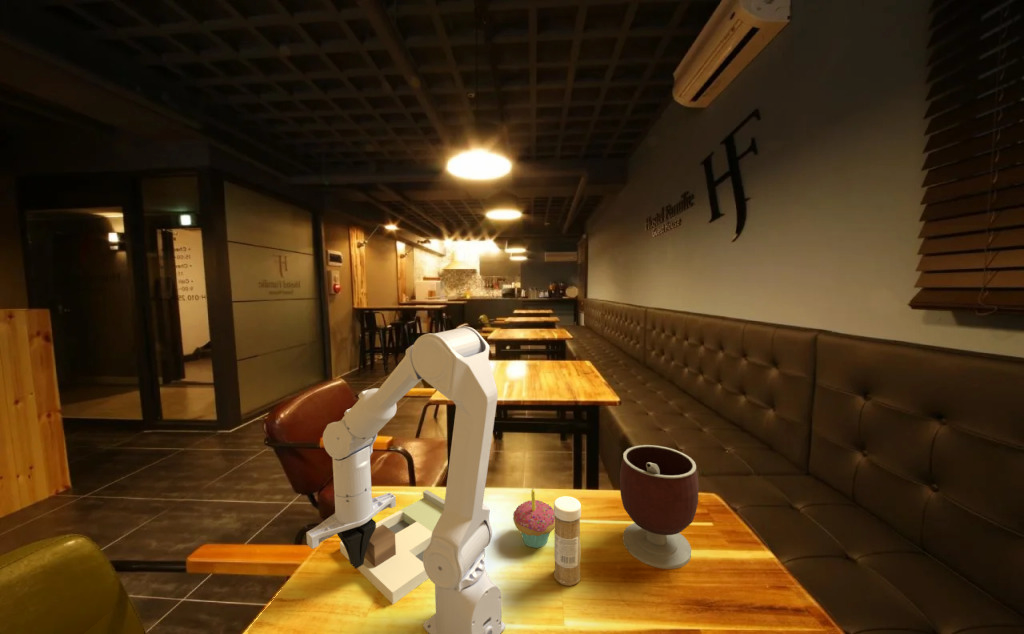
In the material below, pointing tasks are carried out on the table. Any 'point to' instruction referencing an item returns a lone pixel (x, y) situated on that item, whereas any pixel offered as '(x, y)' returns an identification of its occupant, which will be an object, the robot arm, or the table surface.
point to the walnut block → (381, 546)
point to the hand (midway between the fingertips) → (356, 563)
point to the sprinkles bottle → (567, 540)
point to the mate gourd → (658, 504)
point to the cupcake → (534, 521)
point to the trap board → (405, 548)
